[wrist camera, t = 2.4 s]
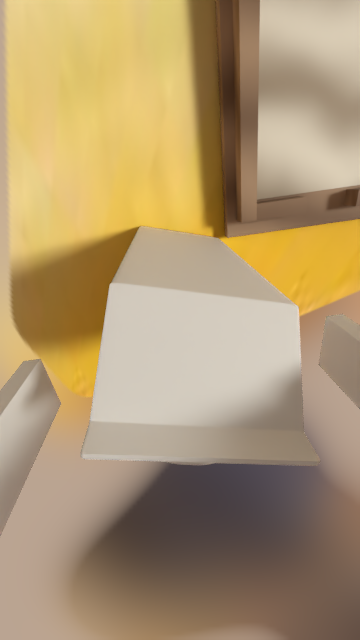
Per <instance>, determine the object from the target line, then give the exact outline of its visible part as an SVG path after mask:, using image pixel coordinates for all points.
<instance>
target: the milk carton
mask: <svg viewBox="0 0 360 640" xmlns="http://www.w3.org/2000/svg"><path fill="white" fill-rule="evenodd" d="M81 457H82V458H83V459H102V460H103V459H104V460H135V461H165V462H168V463H173V464H182V465H208V464H212V463H235V464H236V463H237V464H268V465H302V466H316V465H318V464H319V463H320V459H319V457H318V455H317V454H316V452H315V450H314V449H313V447H312V445H311V444H310V442H309V440H308V438H307V437H306V435H305V434H304V422H303V398H302V374H301V352H300V328H299V307H298V306H297V305H295V304H294V303H293V302H292V301H291V300H289V299H288V298H287V297H286V296H285V295H284V294H283V293H281V292H280V291H279V290H278V289H277V288H276V287H274V286H273V285H272V284H271V283H270V282H269V281H267V280H266V279H265V278H264V277H263V276H262V275H260V274H259V273H258V272H257V271H256V270H255V269H253V268H252V267H251V266H250V265H249V264H248V263H246V262H245V261H244V260H243V259H242V258H241V257H239V256H238V255H237V254H236V253H235V252H234V251H232V250H231V249H230V248H229V247H228V246H227V245H225V244H224V243H223V242H222V241H221V240H220V239H218V238H215V237H210V236H203V235H197V234H191V233H184V232H178V231H171V230H165V229H158V228H152V227H145V226H140V227H139V229H138V231H137V233H136V235H135V237H134V239H133V240H132V242H131V244H130V246H129V248H128V250H127V252H126V254H125V256H124V258H123V260H122V262H121V264H120V266H119V268H118V270H117V272H116V274H115V276H114V278H113V280H112V282H111V283H110V285H109V292H108V299H107V306H106V313H105V319H104V326H103V333H102V340H101V347H100V354H99V361H98V367H97V374H96V381H95V388H94V395H93V402H92V409H91V416H90V422H89V426H88V429H87V433H86V436H85V439H84V442H83V446H82V449H81Z"/></svg>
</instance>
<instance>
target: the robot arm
mask: <svg viewBox="0 0 360 640" xmlns="http://www.w3.org/2000/svg"><path fill="white" fill-rule="evenodd" d="M319 366H320V367H321V368H322V369H323V370H324V371H325V372H326V373H327V374H328V375H329V376H330V378H331V379H332V380H333V381H334V382H335V383H336V384H337V385H338V386H339V387H340V388H341V389H342V390H343V392H345V394H346V395H347V396H348V397H349V398H350V399H351V400H352V401H353V402H354V403H355V404H356V406H357V407H358V408H359V409H360V325H358V324H357V323H355V322H354V321H352V320H351V319H349V318H348V317H346V316H345V315H343V314H339V315H332V316H327V317H326V320H325V327H324V333H323V340H322V346H321V353H320V359H319ZM60 405H61V402H60V400H59V398H58V396H57V394H56V391H55V389H54V387H53V385H52V383H51V381H50V378H49V376H48V374H47V372H46V370H45V368H44V365H43V363H42V361H41V359H36V360H29V361H24V362H23V363H22V364H21V365H20V366H19V368H18V369H17V370H16V372H15V373H14V374H13V375H12V377H11V378H10V379H9V380H8V382H7V383H6V384H5V385H4V387H3V388H2V389H1V391H0V536H1V533H2V531H3V529H4V527H5V525H6V523H7V520H8V518H9V516H10V514H11V511H12V509H13V507H14V505H15V503H16V501H17V499H18V496H19V494H20V492H21V490H22V488H23V485H24V483H25V481H26V479H27V477H28V474H29V472H30V470H31V468H32V466H33V464H34V461H35V459H36V457H37V455H38V453H39V451H40V448H41V446H42V444H43V442H44V440H45V438H46V435H47V433H48V431H49V429H50V426H51V424H52V422H53V420H54V418H55V416H56V414H57V411H58V409H59V407H60Z"/></svg>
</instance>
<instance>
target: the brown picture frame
mask: <svg viewBox="0 0 360 640" xmlns="http://www.w3.org/2000/svg"><path fill="white" fill-rule="evenodd" d="M216 22H217V47H218V72H219V96H220V121H221V146H222V171H223V196H224V221H225V236H226V237H228V238H229V237H236V236H243V235H250V234H257V233H264V232H271V231H278V230H285V229H292V228H298V227H305V226H312V225H319V224H326V223H333V222H340V221H347V220H354V219H360V0H216Z"/></svg>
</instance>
